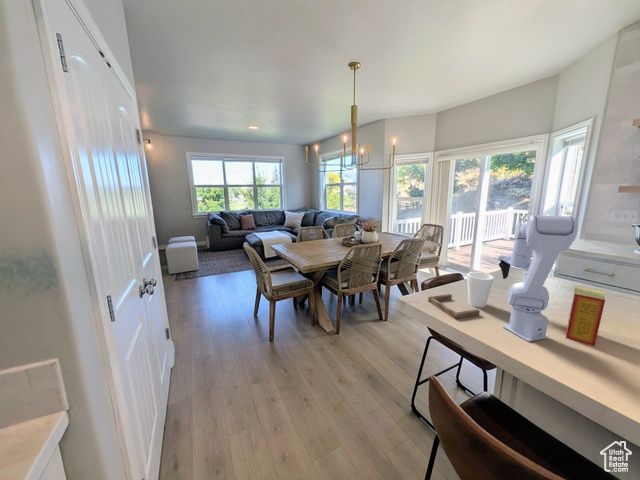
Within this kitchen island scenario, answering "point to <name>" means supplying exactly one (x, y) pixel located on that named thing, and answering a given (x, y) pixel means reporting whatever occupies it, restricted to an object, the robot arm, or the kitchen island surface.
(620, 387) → the kitchen island surface
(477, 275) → the foam cup
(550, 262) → the robot arm
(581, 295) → the baking soda box
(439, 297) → the walnut corral
